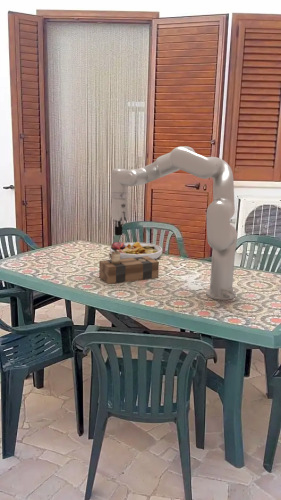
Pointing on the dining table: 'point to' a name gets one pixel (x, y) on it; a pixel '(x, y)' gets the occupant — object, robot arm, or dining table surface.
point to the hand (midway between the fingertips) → (118, 234)
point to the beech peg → (115, 257)
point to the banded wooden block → (128, 270)
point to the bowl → (136, 249)
